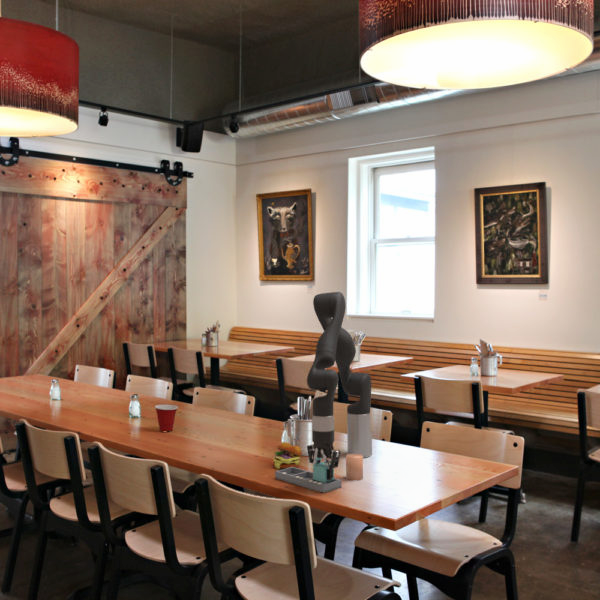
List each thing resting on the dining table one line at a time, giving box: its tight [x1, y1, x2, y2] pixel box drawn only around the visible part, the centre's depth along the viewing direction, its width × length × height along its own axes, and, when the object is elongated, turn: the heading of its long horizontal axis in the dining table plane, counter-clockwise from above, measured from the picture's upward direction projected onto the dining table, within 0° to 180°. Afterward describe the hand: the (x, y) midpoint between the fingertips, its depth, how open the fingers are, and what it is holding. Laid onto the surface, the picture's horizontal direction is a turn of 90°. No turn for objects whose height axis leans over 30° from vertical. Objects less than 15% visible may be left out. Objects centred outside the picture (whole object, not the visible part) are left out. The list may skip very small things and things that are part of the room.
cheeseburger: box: [273, 441, 303, 470], centre depth 262 cm, size 10×11×10 cm
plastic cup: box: [154, 404, 179, 432], centre depth 325 cm, size 11×11×12 cm
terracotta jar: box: [345, 454, 364, 481], centre depth 245 cm, size 6×6×8 cm
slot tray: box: [274, 467, 343, 494], centre depth 239 cm, size 9×24×3 cm, turn 44°
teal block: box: [312, 461, 335, 482], centre depth 234 cm, size 5×5×5 cm
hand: (323, 477), depth 234 cm, fingers closed on teal block, 5 cm apart
